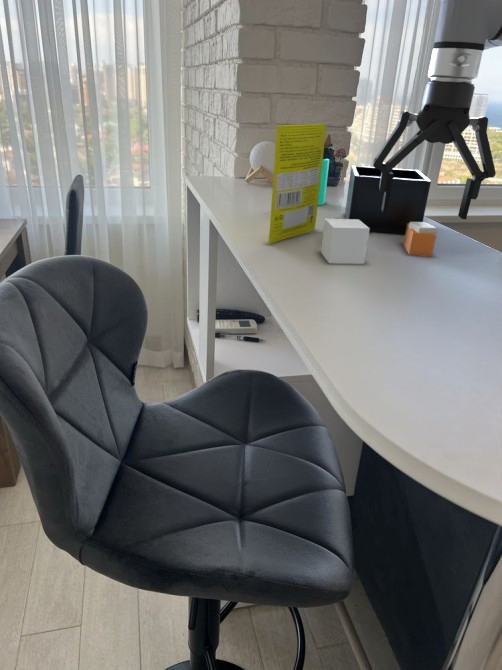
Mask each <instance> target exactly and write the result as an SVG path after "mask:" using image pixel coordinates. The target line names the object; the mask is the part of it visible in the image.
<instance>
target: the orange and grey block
mask: <svg viewBox="0 0 502 670" xmlns="http://www.w3.org/2000/svg"><path fill="white" fill-rule="evenodd" d="M437 231H438V228H437V227H436V226H434V225H432V224H431V223H429V222H427V221H423V222H410V223H407V228H406V233H405V235H404V238H403V246H404V248H405V250H406V252H407V254H408V255H409V256H419V257H429V258H431V257H433V252H434V248H435V243H436V238H437Z"/></svg>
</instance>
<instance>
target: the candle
mask: <svg viewBox="0 0 502 670" xmlns="http://www.w3.org/2000/svg"><path fill="white" fill-rule="evenodd" d="M329 167H330V159H329V158H323V161H322V170H321V179H320V188H319V197H318V206H323V205H325V203H326V194H327V185H328V177H329Z"/></svg>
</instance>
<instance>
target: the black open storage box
mask: <svg viewBox="0 0 502 670" xmlns="http://www.w3.org/2000/svg"><path fill="white" fill-rule="evenodd" d="M390 172H393V174H394V178H393V183H392V189H391V194H390V200H389V205H388V211H387V212H383V211H382V209H381V208H382V203H383V197H384V192H381V191H380V189H379V184H380V178H381V170H379V169H377V168H375V167H374V166H361V165H359V166H358V165H351V166H350V173H349V181H348V187H347V188H348V189H347V196H346V204H345V211H344V216H345V217H344V218H345V219H359V220H360V221H361V222H362V223H364V224H365V225H366V226H367V227H369V228H370V230H369V233H379V234H391V235H403V236H405V233H406V228H407V223H410V222H424V218H425V212H426V209H427V202H428V199H429V193H430V188H431V184H432V181H431V180H430V179H429V178H428V177H427V176H426V175H424V174H423V173H422V172H421V171H420V170H418V169H406V168H405V169H404V168H393V169H392V170H391V171H390Z"/></svg>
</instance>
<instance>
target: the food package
mask: <svg viewBox="0 0 502 670" xmlns="http://www.w3.org/2000/svg"><path fill="white" fill-rule="evenodd" d="M326 131H327V123H308V124H307V123H306V124H305V123H304V124H281V125H280V124H279V125H276V132H275V147H274V148H275V149H274V163H273V177H272V190H271V191H272V192H271V206H270V222H269V234H268V245H271V244H274V243H277V242H281V241H284V240H287V239H291V238H293V237H296V236H300V235H303V234H307V233H310V232H313V231H315V230H316V224H317V223H316V222H317V215H318V206H319V205H318V197H319V188H320V179H321V170H322V161H323V160H324V151H325V142H326V135H327V134H326V133H327V132H326Z"/></svg>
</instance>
